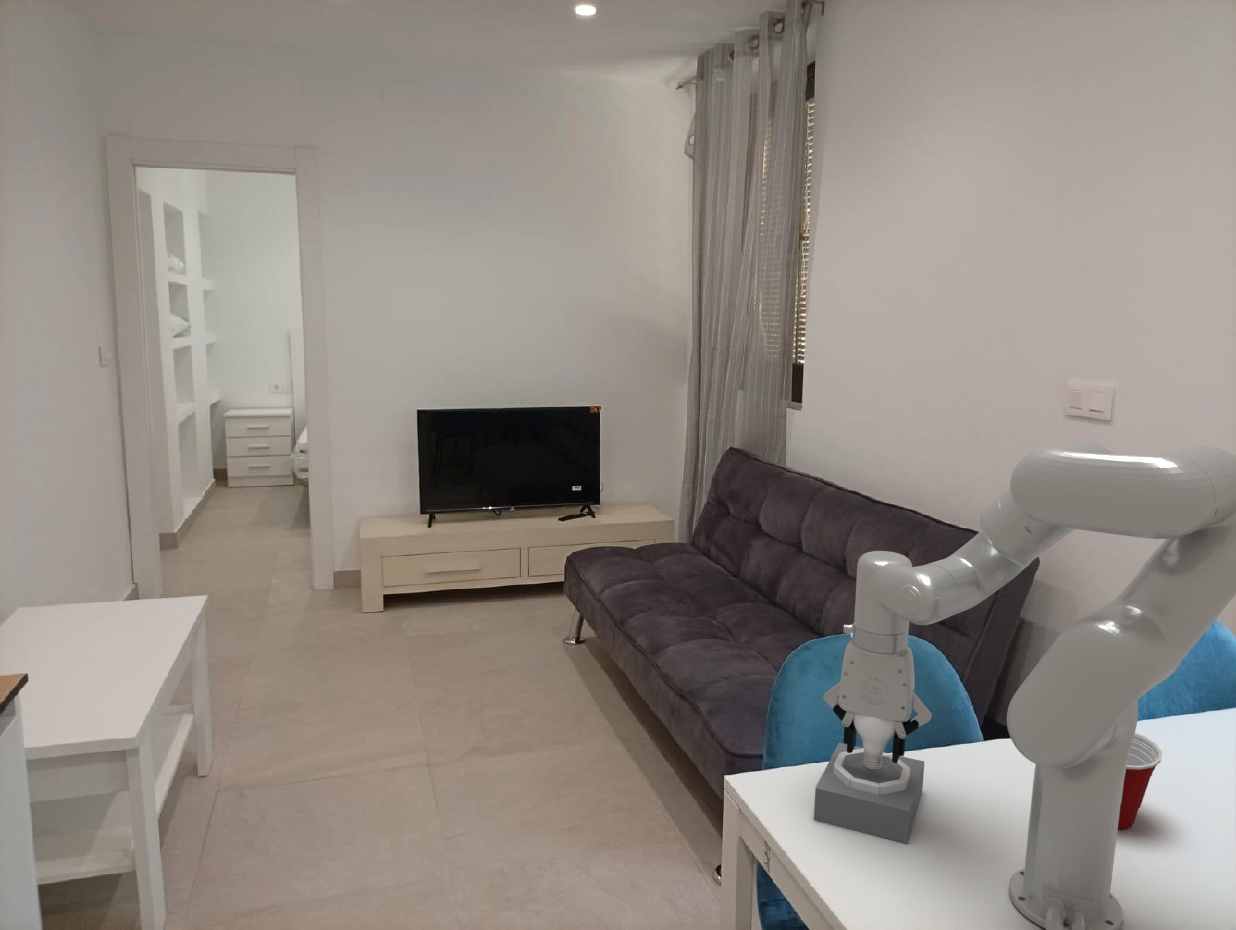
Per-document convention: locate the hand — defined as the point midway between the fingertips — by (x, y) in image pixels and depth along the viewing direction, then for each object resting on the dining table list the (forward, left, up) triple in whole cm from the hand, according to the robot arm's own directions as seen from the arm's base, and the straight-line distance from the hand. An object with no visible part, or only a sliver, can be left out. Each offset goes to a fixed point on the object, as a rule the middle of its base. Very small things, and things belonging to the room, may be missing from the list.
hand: (873, 752), depth 131 cm
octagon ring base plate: (+2, 0, -9) cm, 9 cm away
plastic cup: (+12, -32, -9) cm, 35 cm away
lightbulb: (0, 0, -3) cm, 3 cm away
